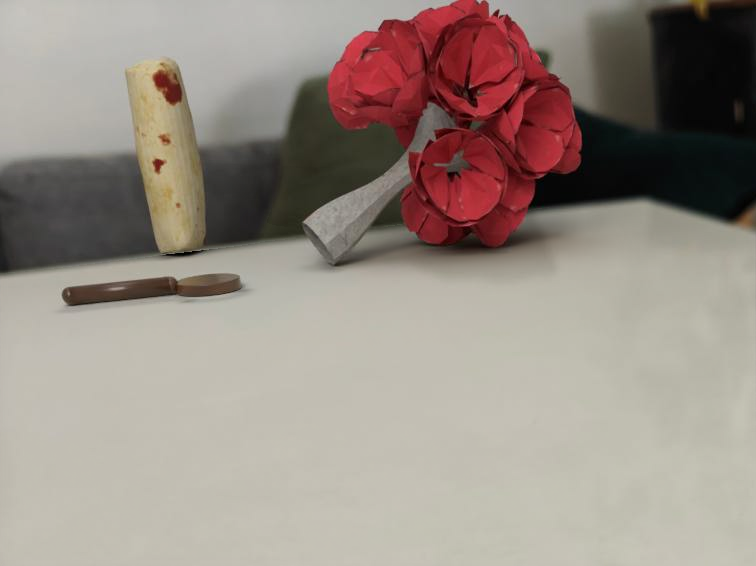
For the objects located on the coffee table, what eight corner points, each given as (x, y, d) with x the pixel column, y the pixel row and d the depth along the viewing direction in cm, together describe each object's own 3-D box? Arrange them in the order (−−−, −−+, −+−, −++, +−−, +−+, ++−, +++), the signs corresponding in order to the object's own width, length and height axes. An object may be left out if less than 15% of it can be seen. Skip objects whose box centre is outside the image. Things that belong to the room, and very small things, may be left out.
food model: (211, 255, 126) (177, 54, 117) (150, 260, 125) (112, 59, 116) (217, 242, 135) (186, 54, 125) (160, 247, 134) (125, 59, 125)
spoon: (61, 311, 101) (57, 293, 101) (66, 299, 107) (62, 282, 106) (243, 292, 104) (240, 274, 104) (239, 281, 110) (236, 264, 109)
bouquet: (417, 347, 109) (646, 155, 112) (264, 127, 97) (524, -83, 100) (354, 324, 128) (552, 160, 130) (219, 136, 116) (439, -41, 118)
